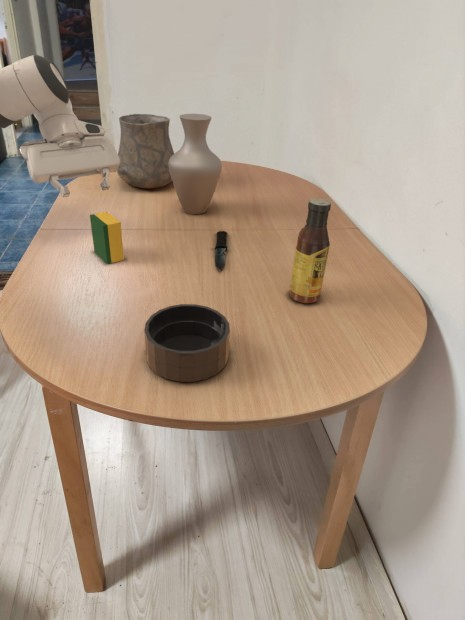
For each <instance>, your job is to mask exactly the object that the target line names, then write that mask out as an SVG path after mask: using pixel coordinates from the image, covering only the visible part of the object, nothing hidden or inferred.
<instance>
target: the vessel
mask: <svg viewBox="0 0 465 620" xmlns="http://www.w3.org/2000/svg"><path fill="white" fill-rule="evenodd" d="M118 121H119V126H120V127H119V128H120V138H119V139H120V140H119V145H118V152H117V153H118V155H119V158H120V165H119V167H118V169H117V171H116V172H117V175H118V177H119V178H120V179H121V180H122V182H124V183H126V184H128V185H130V186H133V187H136V188H141V189H159V188H163V187H164V186H167V185H169V184H170V183H172V182H173V181H172V178H171V175H170V171H169V167H168V162H169V159H170V157H171V156H172V155H173V154H175V152H174V149H173V145H172V142H171V138H170V131H169V130H170V121H171V118H169V117H167V116H163V115H156V114H148V113H143V114H142V113H132V114H126V115H122V116H120V117H118Z"/></svg>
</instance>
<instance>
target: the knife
mask: <svg viewBox="0 0 465 620" xmlns="http://www.w3.org/2000/svg"><path fill="white" fill-rule="evenodd" d="M227 236H228V232H227V231H225V230H220V231H219V230H218V231H217V232H216V242H215V243H216V244H215V246H214V250H215V251H214V253H215V254H214V264H215V267H216V268H217V269H218V270H219V271H220V272H222V271H223V267H224V266H225V265H226V251H227V250H228V246H227V241H228V240H227V239H228V237H227Z"/></svg>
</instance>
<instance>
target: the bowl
mask: <svg viewBox="0 0 465 620" xmlns="http://www.w3.org/2000/svg"><path fill="white" fill-rule="evenodd" d="M143 332H144V333H143V334H144V345H145V346H144V347H145V359H146V362H147V364H148V367H149V368H150V369H151V370H152V371H153V372H154V373H155V374H156V375H159V376H160V377H162V378H164V379H167V380H171V381H174V382H175V381H176V382H180V383H181V382H183V383H184V382H186V383H187V382H188V383H189V382H190V383H191V382H197V381H202V380H206V379H209V378H211V377H214V376H215V375H217V374H219V372H221V371H222V370H223V369H224V368H225V367H226V365H227V362H228V360H229V355H230V354H229V353H230V337H231V336H230V335H231V328H230V321H228V319H227V318H226V316H225V315H223V314H222V313H221V312H220V311H218V310H217V309H214V308H211V307H210V306H206V305H201V304H196V303H180V304H174V305H169V306H167V307H164V308H161V309H159V310H157V311H156V312H154V313H153V314H151V315H150V316H149V317H148V319H147V321H145V324H144V329H143Z"/></svg>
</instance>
